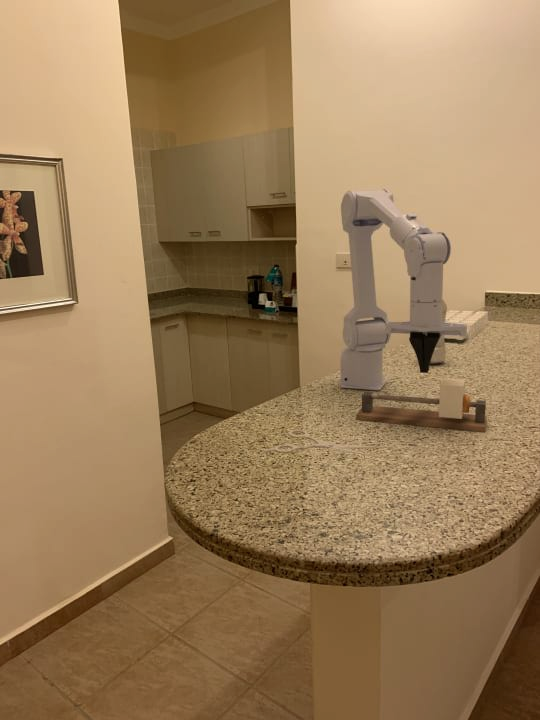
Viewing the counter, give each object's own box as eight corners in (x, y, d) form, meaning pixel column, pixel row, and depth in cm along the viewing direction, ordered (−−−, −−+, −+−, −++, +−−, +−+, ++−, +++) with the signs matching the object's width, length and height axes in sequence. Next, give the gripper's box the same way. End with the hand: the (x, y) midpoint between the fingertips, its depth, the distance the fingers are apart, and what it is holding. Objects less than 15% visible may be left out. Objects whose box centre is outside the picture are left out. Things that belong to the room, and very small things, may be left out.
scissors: (284, 428, 103) (390, 438, 95) (285, 432, 103) (390, 442, 95) (262, 450, 93) (377, 463, 85) (262, 454, 93) (377, 468, 86)
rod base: (356, 419, 106) (355, 392, 105) (363, 409, 111) (363, 383, 110) (484, 432, 96) (486, 402, 95) (486, 420, 102) (487, 392, 100)
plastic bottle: (419, 365, 142) (420, 289, 137) (422, 359, 148) (423, 286, 143) (444, 366, 140) (446, 289, 135) (446, 360, 146) (448, 286, 141)
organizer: (488, 311, 190) (465, 330, 161) (487, 325, 191) (464, 345, 163) (450, 310, 197) (421, 327, 168) (449, 323, 198) (421, 343, 170)
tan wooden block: (439, 416, 100) (439, 384, 98) (441, 409, 104) (442, 378, 102) (461, 418, 98) (463, 386, 97) (463, 411, 102) (465, 379, 101)
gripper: (381, 303, 99) (381, 374, 102) (465, 304, 93) (462, 379, 96) (390, 297, 105) (389, 365, 108) (469, 298, 99) (466, 369, 103)
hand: (424, 371), depth 103 cm, fingers closed
